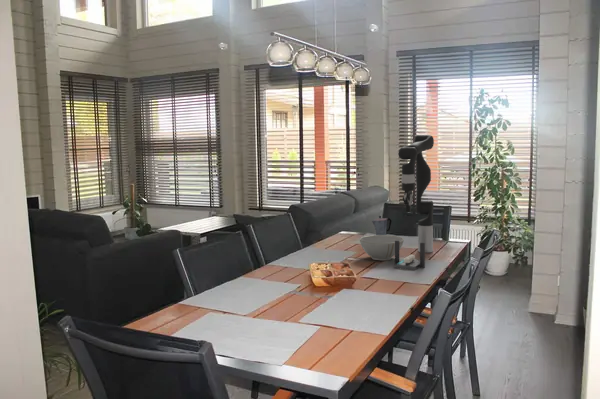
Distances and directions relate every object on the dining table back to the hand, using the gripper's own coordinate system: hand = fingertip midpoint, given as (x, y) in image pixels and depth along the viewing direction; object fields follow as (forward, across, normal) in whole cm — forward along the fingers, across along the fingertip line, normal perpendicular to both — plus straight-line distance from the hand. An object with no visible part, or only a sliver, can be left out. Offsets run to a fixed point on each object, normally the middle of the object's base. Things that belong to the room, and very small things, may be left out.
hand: (408, 211), depth 298 cm
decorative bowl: (+31, -5, -19) cm, 37 cm away
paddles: (+27, +7, +3) cm, 28 cm away
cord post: (+30, +7, +10) cm, 33 cm away
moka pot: (+33, -47, -36) cm, 67 cm away
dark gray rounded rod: (+30, +7, -4) cm, 32 cm away
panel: (+30, +7, +3) cm, 31 cm away
